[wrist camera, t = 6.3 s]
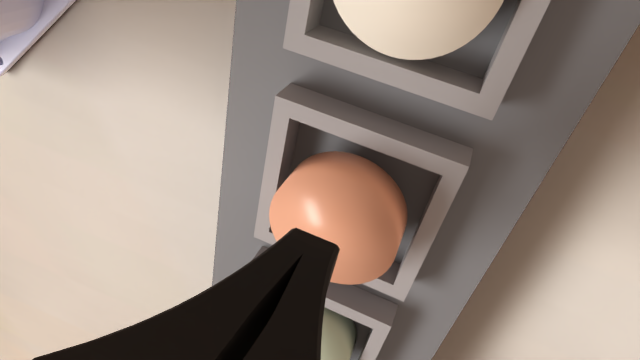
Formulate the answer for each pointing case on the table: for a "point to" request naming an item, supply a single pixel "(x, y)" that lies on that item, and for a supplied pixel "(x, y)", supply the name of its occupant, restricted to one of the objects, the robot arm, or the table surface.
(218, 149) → the table surface
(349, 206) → the terracotta button
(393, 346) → the button panel
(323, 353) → the sage button
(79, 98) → the table surface
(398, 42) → the cream button
